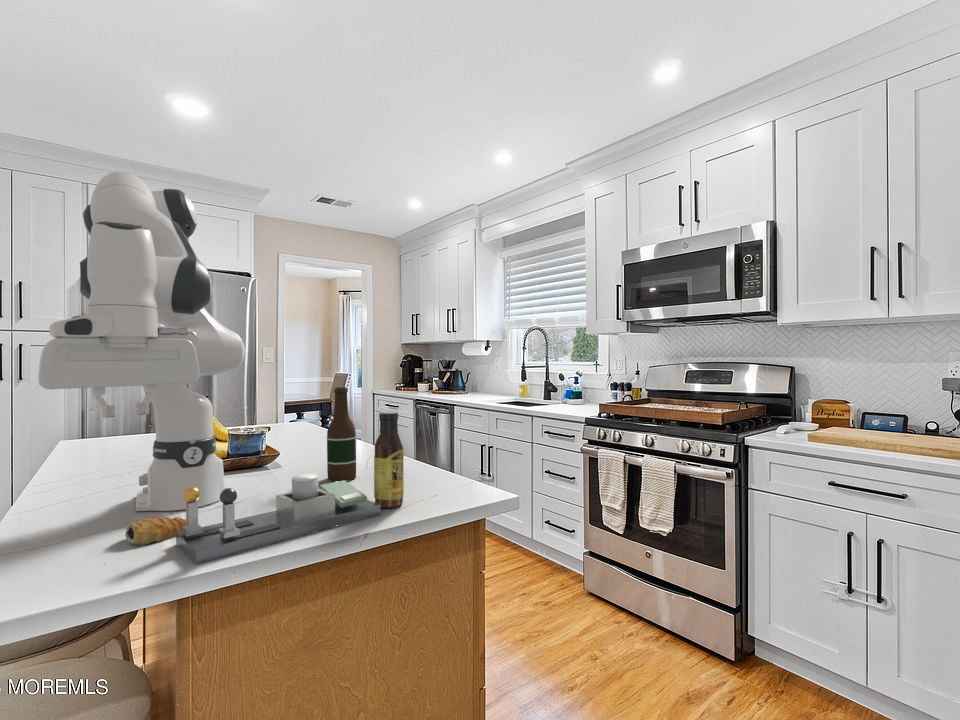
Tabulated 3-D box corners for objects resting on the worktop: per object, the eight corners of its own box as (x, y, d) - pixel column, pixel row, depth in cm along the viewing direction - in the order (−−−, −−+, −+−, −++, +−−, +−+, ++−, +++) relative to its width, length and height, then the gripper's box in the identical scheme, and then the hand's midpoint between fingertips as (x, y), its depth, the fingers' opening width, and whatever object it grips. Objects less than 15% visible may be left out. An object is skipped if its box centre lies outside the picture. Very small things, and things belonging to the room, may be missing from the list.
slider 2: (217, 533, 83) (216, 488, 83) (233, 529, 85) (233, 485, 85) (223, 538, 81) (223, 491, 81) (240, 534, 83) (239, 488, 83)
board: (176, 544, 86) (175, 512, 86) (350, 502, 109) (350, 477, 109) (196, 564, 78) (195, 528, 78) (380, 514, 101) (380, 487, 101)
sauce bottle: (397, 510, 104) (396, 414, 104) (369, 508, 105) (368, 414, 105) (408, 501, 110) (407, 411, 110) (381, 499, 111) (380, 410, 111)
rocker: (319, 489, 103) (320, 483, 103) (344, 484, 107) (344, 478, 107) (341, 507, 97) (342, 501, 96) (366, 501, 101) (367, 495, 100)
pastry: (180, 526, 96) (179, 506, 96) (194, 534, 92) (194, 513, 92) (122, 540, 89) (121, 519, 89) (134, 550, 84) (134, 527, 84)
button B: (287, 499, 96) (287, 476, 96) (311, 494, 99) (311, 472, 99) (298, 504, 93) (298, 481, 93) (323, 499, 96) (322, 476, 96)
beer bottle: (321, 481, 129) (319, 388, 128) (334, 474, 136) (333, 386, 136) (349, 482, 127) (348, 388, 127) (362, 475, 135) (360, 386, 135)
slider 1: (180, 531, 84) (180, 486, 84) (198, 528, 86) (197, 484, 86) (186, 536, 82) (185, 490, 82) (203, 532, 84) (203, 487, 84)
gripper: (193, 329, 87) (194, 408, 87) (36, 325, 73) (37, 420, 73) (204, 327, 83) (205, 411, 83) (39, 323, 68) (41, 424, 68)
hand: (125, 415), depth 78 cm, fingers open, 3 cm apart
